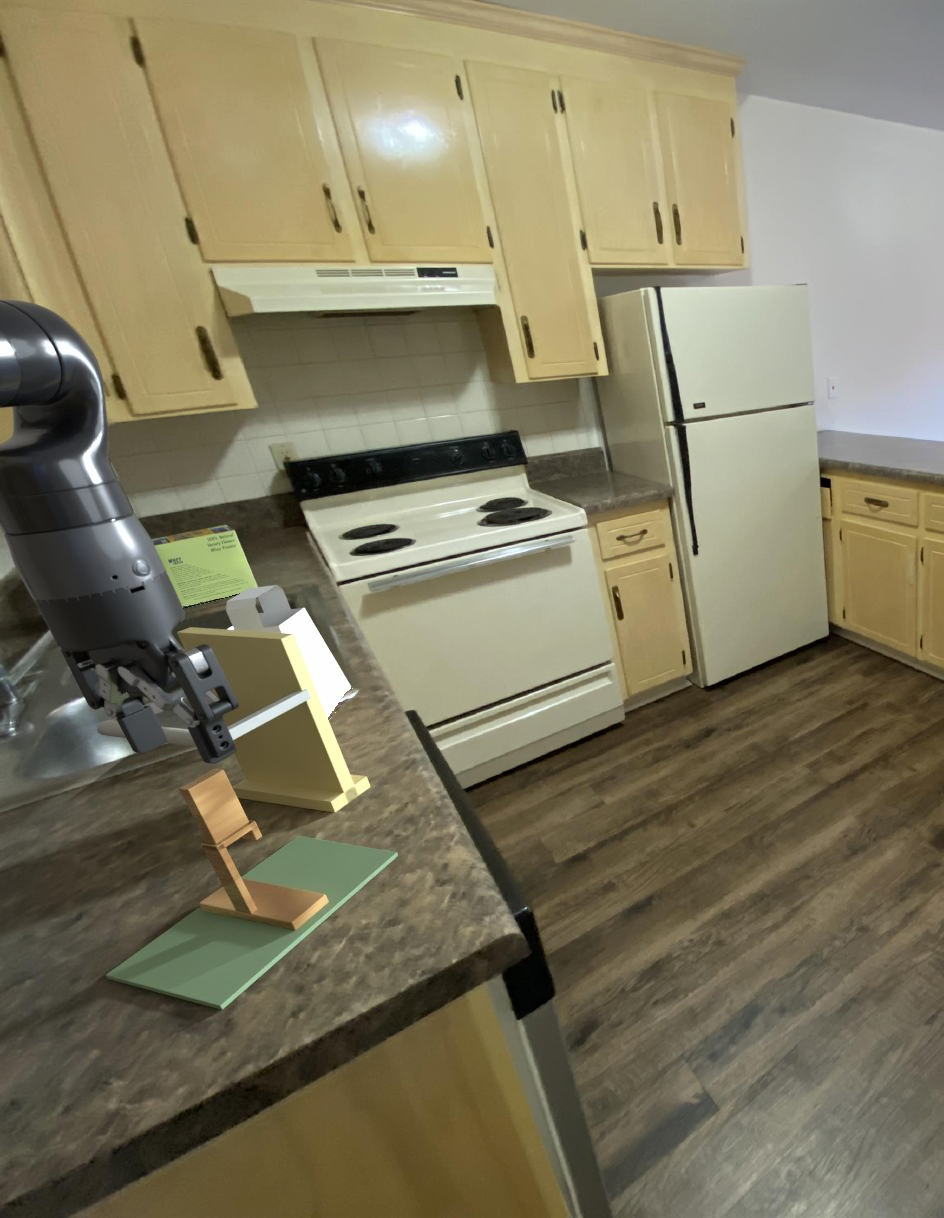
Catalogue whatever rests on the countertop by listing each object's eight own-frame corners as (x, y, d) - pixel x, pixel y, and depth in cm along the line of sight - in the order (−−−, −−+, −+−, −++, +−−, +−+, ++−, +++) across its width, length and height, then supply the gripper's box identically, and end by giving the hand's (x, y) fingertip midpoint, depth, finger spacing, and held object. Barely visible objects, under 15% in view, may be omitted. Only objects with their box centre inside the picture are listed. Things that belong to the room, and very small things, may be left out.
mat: (107, 979, 59) (104, 975, 58) (299, 839, 75) (297, 835, 74) (222, 1010, 55) (219, 1006, 55) (398, 855, 71) (396, 852, 71)
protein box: (260, 589, 164) (235, 529, 158) (179, 610, 153) (149, 546, 148) (250, 582, 171) (226, 524, 165) (172, 601, 160) (143, 539, 154)
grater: (245, 737, 97) (187, 611, 89) (282, 702, 106) (233, 585, 99) (324, 724, 99) (273, 600, 91) (354, 691, 108) (310, 576, 101)
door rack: (268, 863, 71) (180, 683, 63) (159, 843, 76) (64, 673, 67) (372, 787, 83) (310, 627, 75) (273, 773, 87) (204, 621, 79)
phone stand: (295, 931, 62) (230, 798, 56) (202, 910, 65) (131, 783, 59) (329, 901, 65) (271, 773, 59) (239, 884, 68) (175, 760, 62)
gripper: (-24, 592, 50) (78, 770, 56) (104, 599, 46) (199, 789, 53) (96, 561, 57) (176, 723, 63) (217, 565, 53) (289, 737, 59)
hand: (186, 753), depth 58 cm, fingers open, 8 cm apart
